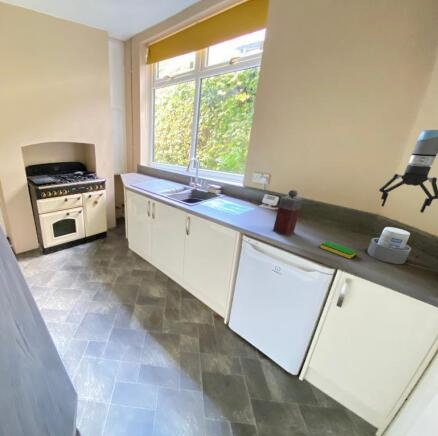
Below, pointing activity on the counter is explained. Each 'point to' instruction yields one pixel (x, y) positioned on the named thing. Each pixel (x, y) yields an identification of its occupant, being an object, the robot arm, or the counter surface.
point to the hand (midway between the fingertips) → (401, 208)
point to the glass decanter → (287, 213)
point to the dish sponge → (338, 249)
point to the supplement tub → (393, 238)
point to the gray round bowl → (388, 252)
